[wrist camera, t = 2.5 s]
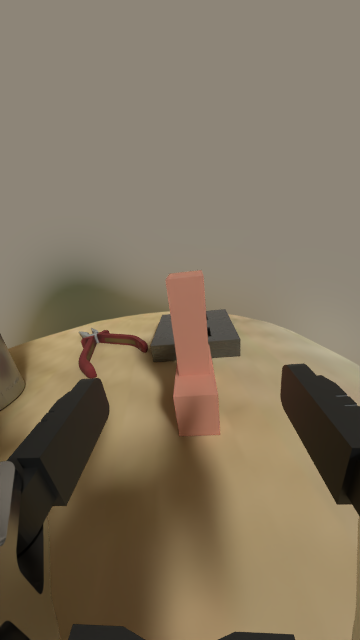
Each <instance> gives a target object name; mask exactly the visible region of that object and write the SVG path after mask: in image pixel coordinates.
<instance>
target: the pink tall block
mask: <svg viewBox="0 0 360 640" xmlns="http://www.w3.org/2000/svg"><path fill="white" fill-rule="evenodd" d="M166 285H167V293H168V300H169V307H170V315H171V322H172V329H173V336H174V343H175V350H176V357H177V367H176V376H175V385H174V394H173V399H174V405H175V411H176V418H177V424H178V430H179V436H202V435H220V421H219V403H218V392H217V386H216V381H215V375H214V369H213V364H212V358H211V352H210V347H209V345H208V334H207V319H206V305H205V292H204V277H203V274H202V271H201V270H199V271H190V272H181V273H172V274H169V275H168V277H167V278H166Z"/></svg>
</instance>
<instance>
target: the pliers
mask: <svg viewBox="0 0 360 640" xmlns="http://www.w3.org/2000/svg"><path fill="white" fill-rule="evenodd" d="M91 330H92V332H93V334H91V335H89V333H87V332H79V333H80V335H81V336H82V337H83V339H82V341H81V343H82V346H83V348H84V349H83V351H82V353H81V355H80V358H79V368H80V369H81V370H82V372H83V373H84V374H85V375H86V376H87V377H88V378H95V377H97V374H96V371H95V369H94V367H93V365H92V364H91V363H90V359H91V357H92V354H93V352H94V349H95V347H96V344H97V343H110V344H122V345H131V346H134V347H137V348H138V349H139V350H141V351H142V352H144V353H145V352H147V351H148V345H147V343H146V342H145V341H143V340H142V339H140V338H139V337H137V336H134V335H125V334H110V333H109V331H108V330H104V331H102V332H99V333H98V331H97V330H95V329H93V328H91Z"/></svg>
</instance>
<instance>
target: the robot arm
mask: <svg viewBox="0 0 360 640" xmlns="http://www.w3.org/2000/svg"><path fill="white" fill-rule="evenodd" d="M24 387H25V383H24V381H23V379H22V377H21V375H20V373H19V371H18V369H17V367H16V365H15V363H14V360H13V358H12V356H11V354H10V352H9V350H8V348H7V346H6V344H5V342H4V340H3V339H2V337H1V334H0V410H1V409H2V408H4V407H5V406H7V405H8V404H10V403H11V402H12V401H13V400H15V399H16V398H17V397H18V396H19V395H20V394H21V392H22V391H23V389H24ZM281 402H282V406H283V408H284V410H285V412H286V414H287V416H288V418H289V419H290V421H291V423H292V425H293V427H294V428H295V430H296V432H297V434H298V436H299V437H300V439H301V441H302V443H303V444H304V446H305V448H306V450H307V452H308V453H309V455H310V457H311V459H312V461H313V462H314V464H315V466H316V468H317V470H318V471H319V473H320V475H321V477H322V478H323V480H324V482H325V484H326V486H327V487H328V489H329V491H330V493H331V495H332V496H333V498H334V500H335V502H336V504H352V505H353V506H354V508H355V510H356V511H357V513H358V514H359V520H358V547H357V592H356V612H355V620H354V625H353V631H352V640H360V406H357V403H355V402H354V401H353V400H352V399H351V398H350V397H348V396H347V394H346V393H345V392H344V391H343V390H342V389H341V388H340V387H339V386H338V385H337V384H336V383H334V382H332V381H331V380H329V379H327V378H325V377H324V376H322V375H319V376H316V375H315V373H314V372H313V371H312V370H311V369H310V368H309V367H308V366H307V365H306V364H291V365H284V366H283V368H282V380H281ZM108 415H109V403H108V400H107V397H106V394H105V391H104V388H103V384H102V382H101V380H100V379H99V378H92V379H81V380H80V381H79V382H78V383H77V384H76V385H75V387H74V388H73V389H72V390H71V392H68V393H67V394H65V395H64V396H63V397H61V398H60V399H59V400H58V401H57V402H56V403H55V404H54V405H53V406H52V408H51V409H50V410H49V413H46V415H45V416H44V417H43V418H42V419H41V422H39V423H38V424H37V425H36V427H35V428H34V429H33V430H32V431H31V432H30V434H29V435H28V436H27V437H26V438H25V440H24V441H23V442H22V443H21V444H20V445H19V447H18V448H17V449H16V450H15V451H14V453H13V454H12V455H11V456H10V457H9V458H8V460H7V461H3V462H0V640H60V633H59V627H58V621H57V617H56V613H55V610H54V607H53V603H52V597H51V575H50V543H49V520H48V518H47V515H48V513H49V511H50V509H51V507H52V506H66V505H67V503H68V501H69V499H70V497H71V495H72V493H73V491H74V489H75V486H76V484H77V482H78V480H79V478H80V476H81V474H82V472H83V470H84V467H85V465H86V463H87V461H88V459H89V457H90V455H91V453H92V451H93V448H94V446H95V444H96V442H97V440H98V438H99V436H100V434H101V431H102V429H103V427H104V425H105V423H106V421H107V419H108ZM68 640H145V639H143V638H141V637H140V636H138V635H136V634H135V633H133V632H132V631H130V630H128V629H127V628H125V627H123V626H103V625H81V624H73V626H72V629H71V632H70V636H69V639H68ZM218 640H295V637H294V635H293V634H272V633H251V632H234V633H231V634H229V635H227V636H225V637H223V638H221V639H218Z"/></svg>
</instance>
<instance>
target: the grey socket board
mask: <svg viewBox="0 0 360 640" xmlns="http://www.w3.org/2000/svg"><path fill="white" fill-rule="evenodd" d="M206 319H207V334H208V345H209V347H210V352H211V358H217V357H231V356H240V338H239V336H238V334H237V332H236V330H235V328H234V326H233V324H232V322H231V320H230V318H229V316H228V314H227V312H226V310H225V309H224V310H212V311H206ZM151 351H152V356H153V361H154V362H161V361H175V360H177V357H176V350H175V343H174V336H173V329H172V322H171V315H170V314H169V315H162V317H161V320H160V322H159V325H158V328H157V330H156V333H155V336H154V338H153V341H152V344H151Z"/></svg>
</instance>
